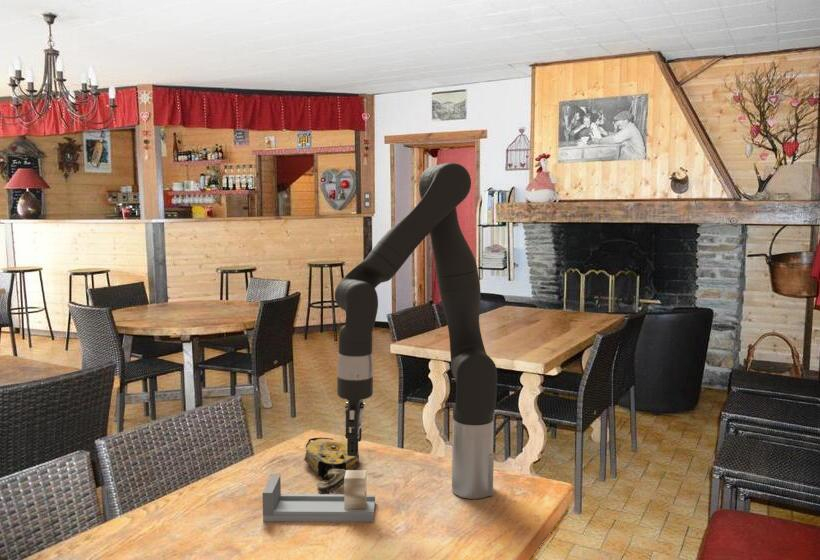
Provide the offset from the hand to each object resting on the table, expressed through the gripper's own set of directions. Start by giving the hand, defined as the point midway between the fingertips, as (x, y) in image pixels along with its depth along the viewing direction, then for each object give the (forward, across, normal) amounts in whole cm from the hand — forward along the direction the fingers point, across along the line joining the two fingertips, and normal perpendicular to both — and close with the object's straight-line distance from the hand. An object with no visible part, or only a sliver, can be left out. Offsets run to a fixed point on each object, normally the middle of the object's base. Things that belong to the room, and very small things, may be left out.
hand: (354, 447), depth 145 cm
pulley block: (+15, +21, +8) cm, 27 cm away
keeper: (+13, 0, 0) cm, 13 cm away
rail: (+14, 0, +7) cm, 16 cm away
